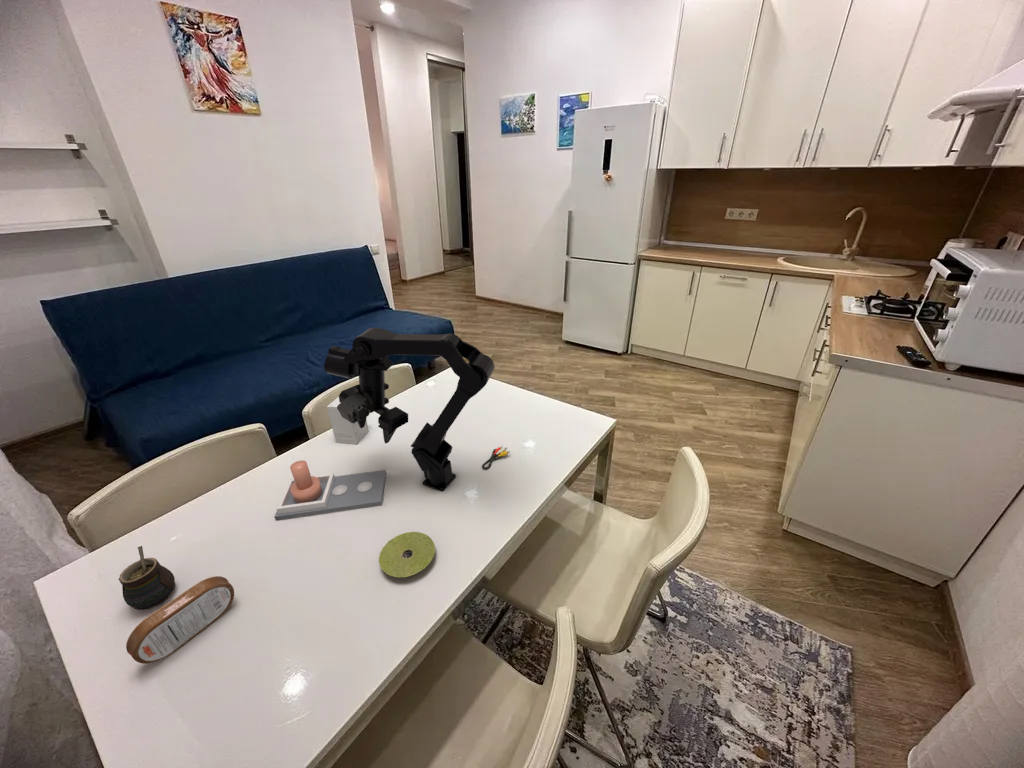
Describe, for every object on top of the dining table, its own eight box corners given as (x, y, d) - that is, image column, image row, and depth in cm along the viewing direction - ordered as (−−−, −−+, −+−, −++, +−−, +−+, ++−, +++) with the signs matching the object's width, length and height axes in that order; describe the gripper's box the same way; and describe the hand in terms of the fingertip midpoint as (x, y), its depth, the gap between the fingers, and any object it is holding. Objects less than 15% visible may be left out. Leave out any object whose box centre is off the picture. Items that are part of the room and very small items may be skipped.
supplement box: (357, 445, 120) (348, 408, 115) (335, 442, 122) (325, 406, 116) (369, 431, 127) (362, 396, 121) (348, 429, 128) (339, 394, 122)
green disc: (372, 555, 85) (370, 549, 84) (421, 529, 91) (420, 523, 90) (393, 594, 77) (392, 587, 76) (445, 563, 83) (444, 556, 82)
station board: (386, 473, 109) (384, 465, 107) (381, 505, 98) (379, 496, 97) (290, 486, 105) (287, 477, 104) (275, 520, 94) (272, 511, 93)
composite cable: (486, 472, 109) (485, 465, 108) (474, 464, 112) (473, 457, 110) (511, 455, 115) (511, 448, 114) (499, 448, 118) (499, 441, 117)
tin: (234, 594, 78) (219, 565, 74) (243, 603, 76) (227, 573, 72) (139, 666, 67) (114, 635, 63) (146, 677, 65) (122, 647, 61)
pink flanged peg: (325, 494, 100) (316, 465, 95) (298, 507, 96) (287, 478, 92) (317, 481, 104) (308, 453, 100) (290, 493, 100) (280, 464, 96)
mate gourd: (130, 624, 73) (102, 587, 69) (134, 593, 79) (109, 557, 74) (179, 601, 77) (156, 565, 72) (179, 574, 82) (158, 538, 78)
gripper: (316, 378, 93) (322, 433, 101) (370, 410, 85) (373, 467, 93) (356, 363, 102) (360, 415, 109) (410, 391, 94) (409, 445, 101)
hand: (374, 434), depth 103 cm, fingers open, 9 cm apart
